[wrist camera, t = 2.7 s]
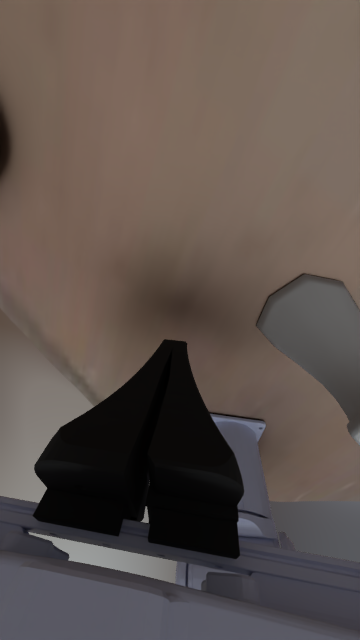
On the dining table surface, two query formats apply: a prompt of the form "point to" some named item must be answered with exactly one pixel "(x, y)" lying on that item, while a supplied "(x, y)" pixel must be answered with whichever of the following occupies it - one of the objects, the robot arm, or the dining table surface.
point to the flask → (319, 337)
